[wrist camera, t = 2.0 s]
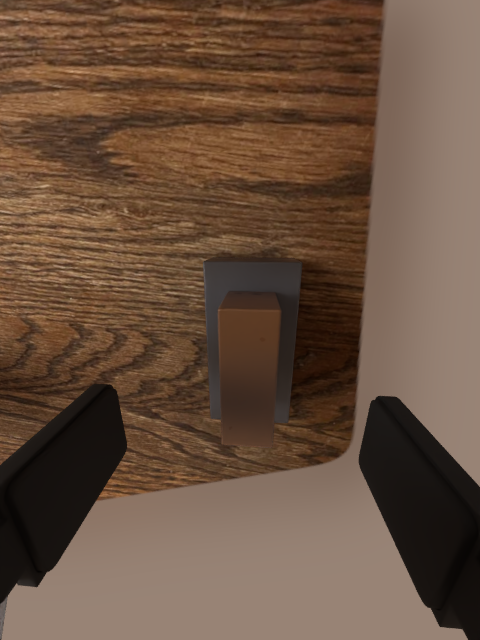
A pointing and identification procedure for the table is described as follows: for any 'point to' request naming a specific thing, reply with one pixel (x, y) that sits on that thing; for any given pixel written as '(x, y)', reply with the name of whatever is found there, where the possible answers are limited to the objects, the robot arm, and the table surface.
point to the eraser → (251, 344)
